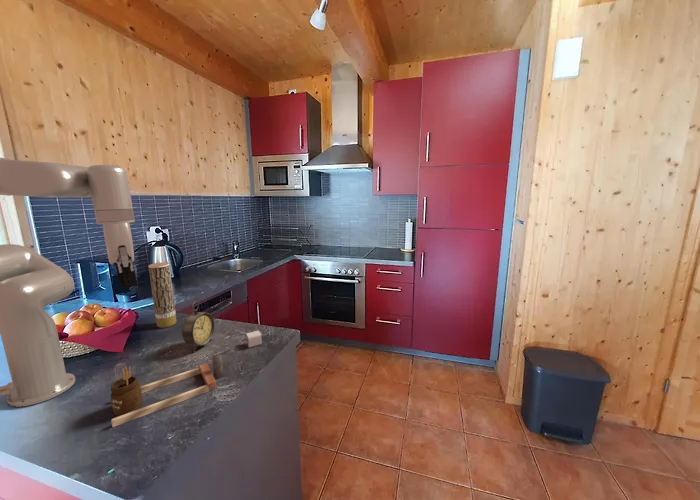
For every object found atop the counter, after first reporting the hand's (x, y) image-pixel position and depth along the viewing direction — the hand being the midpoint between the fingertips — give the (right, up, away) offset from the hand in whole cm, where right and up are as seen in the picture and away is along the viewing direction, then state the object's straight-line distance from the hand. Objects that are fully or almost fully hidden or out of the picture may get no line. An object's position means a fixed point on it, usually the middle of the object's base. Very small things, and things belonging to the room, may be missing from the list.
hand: (127, 283), depth 76 cm
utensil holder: (+3, -30, -4) cm, 31 cm away
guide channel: (+11, -29, +2) cm, 31 cm away
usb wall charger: (+23, -25, +26) cm, 42 cm away
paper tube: (-16, -22, +42) cm, 50 cm away
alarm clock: (+6, -25, +25) cm, 36 cm away
